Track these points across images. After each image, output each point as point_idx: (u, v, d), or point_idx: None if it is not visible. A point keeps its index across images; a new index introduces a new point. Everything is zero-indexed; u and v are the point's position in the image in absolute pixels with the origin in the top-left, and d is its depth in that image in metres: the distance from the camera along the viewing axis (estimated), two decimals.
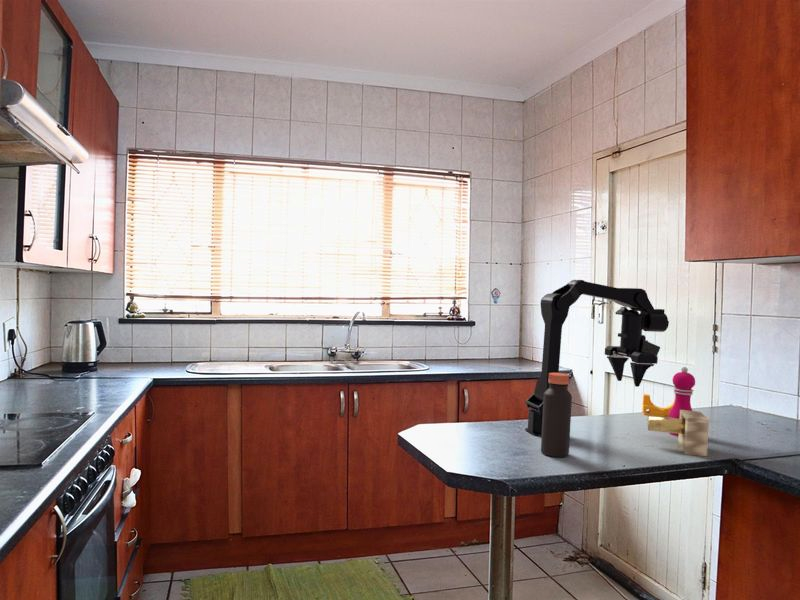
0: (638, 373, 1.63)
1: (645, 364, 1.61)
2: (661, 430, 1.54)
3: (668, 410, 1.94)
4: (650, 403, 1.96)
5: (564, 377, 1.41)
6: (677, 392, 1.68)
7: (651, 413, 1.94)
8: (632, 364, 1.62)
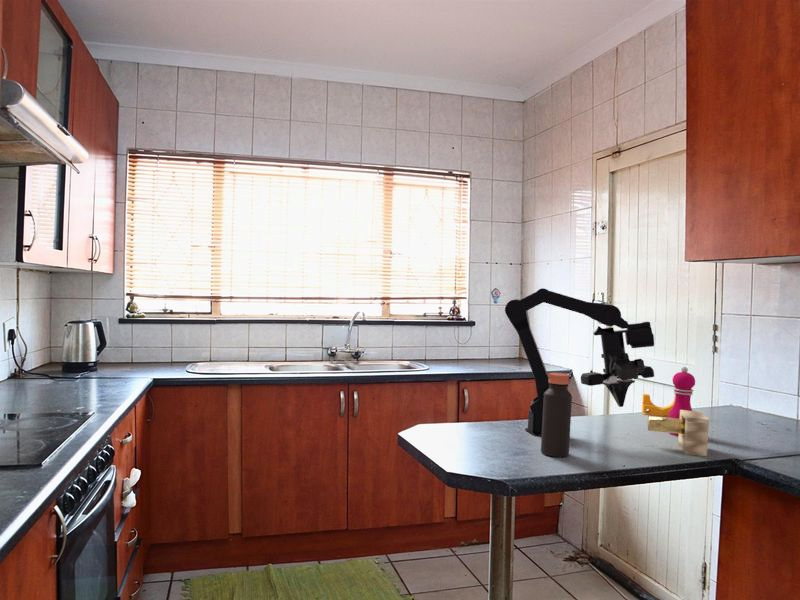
0: (613, 393, 1.58)
1: (605, 383, 1.57)
2: (661, 430, 1.54)
3: (668, 410, 1.94)
4: (650, 403, 1.96)
5: (564, 377, 1.41)
6: (677, 392, 1.68)
7: (651, 413, 1.94)
8: None
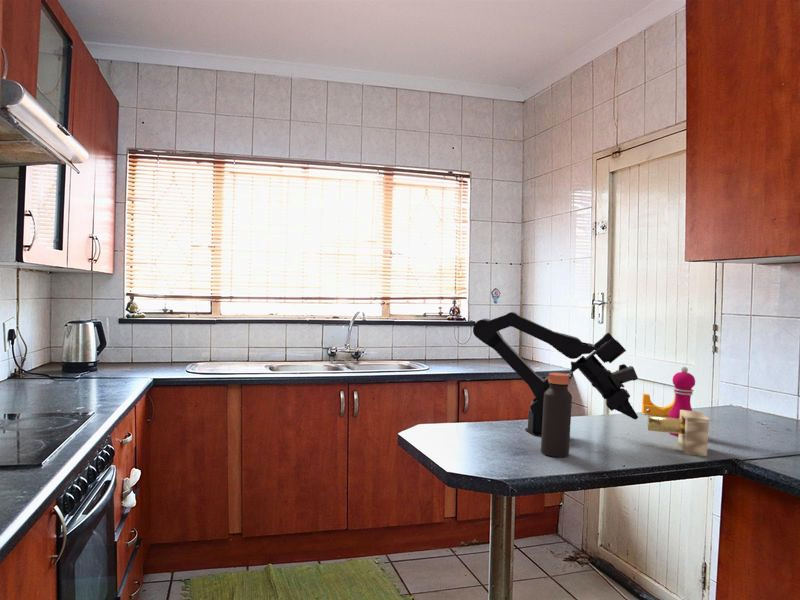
0: (625, 409, 1.56)
1: None
2: (661, 430, 1.54)
3: (668, 409, 1.95)
4: (650, 403, 1.96)
5: (564, 377, 1.41)
6: (677, 392, 1.68)
7: (651, 413, 1.95)
8: None
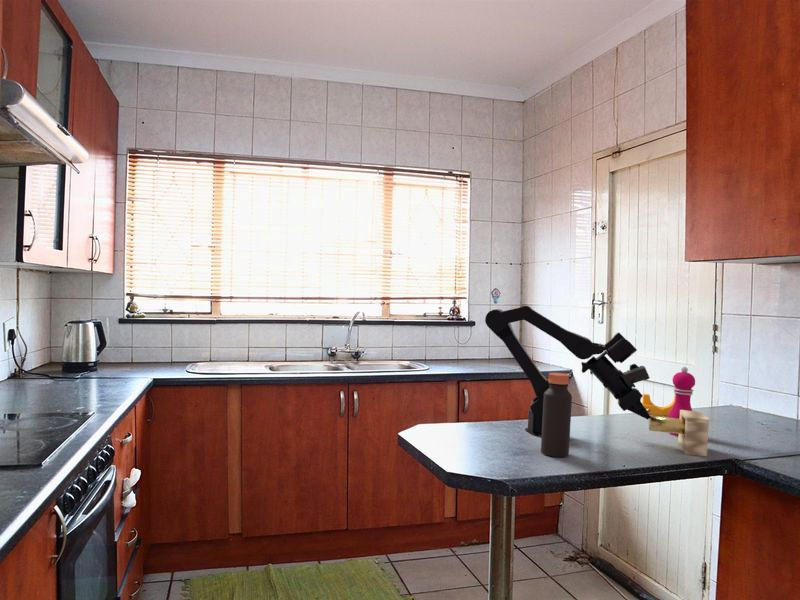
0: (638, 409, 1.55)
1: None
2: (662, 430, 1.53)
3: (668, 409, 1.95)
4: (650, 402, 1.97)
5: (564, 377, 1.41)
6: (677, 392, 1.68)
7: (651, 412, 1.95)
8: None
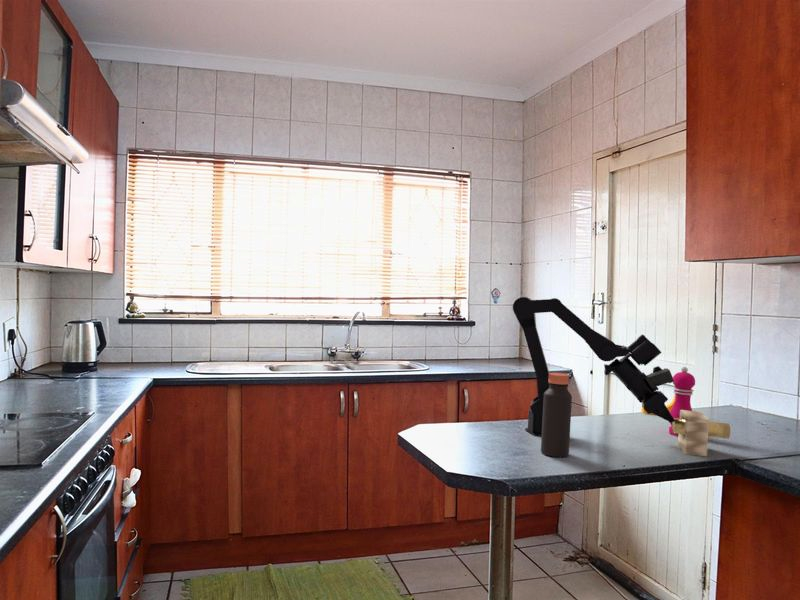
0: (661, 412, 1.54)
1: None
2: None
3: None
4: None
5: (564, 377, 1.41)
6: (677, 392, 1.68)
7: None
8: None
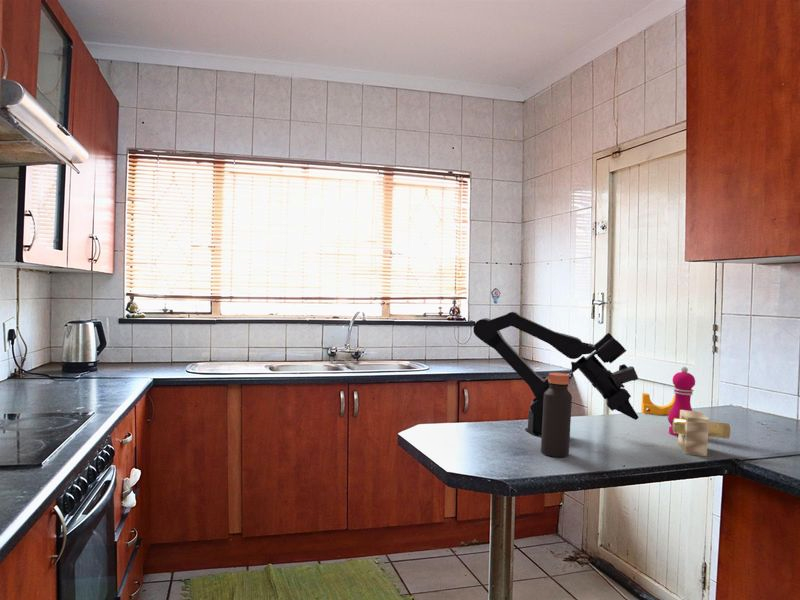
0: (626, 409, 1.56)
1: None
2: None
3: (667, 409, 1.96)
4: (649, 402, 1.98)
5: (564, 377, 1.41)
6: (677, 392, 1.68)
7: (651, 412, 1.96)
8: None
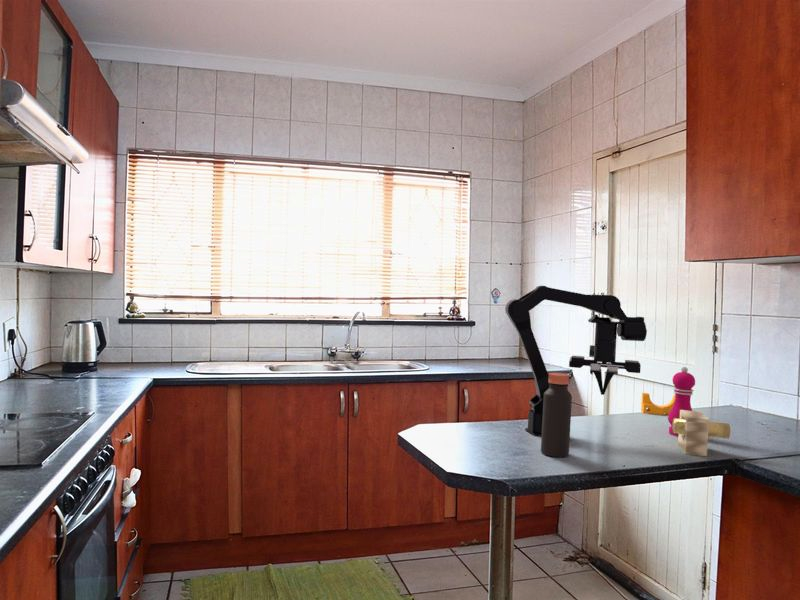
0: None
1: (617, 371, 1.61)
2: None
3: (667, 408, 1.97)
4: (649, 401, 1.98)
5: (564, 377, 1.41)
6: (677, 392, 1.68)
7: (651, 411, 1.96)
8: (610, 373, 1.59)
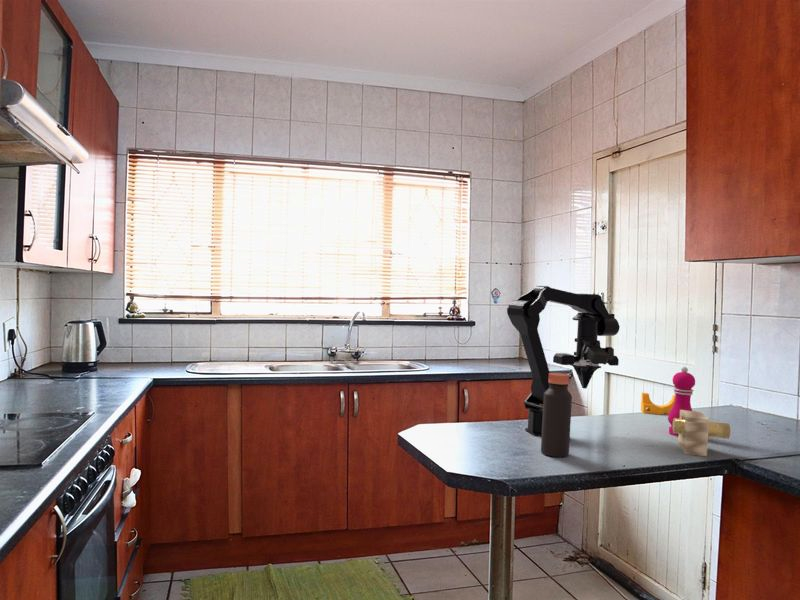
0: (579, 375, 1.71)
1: (574, 365, 1.70)
2: None
3: (667, 408, 1.97)
4: (649, 401, 1.98)
5: (564, 377, 1.41)
6: (677, 392, 1.68)
7: (651, 411, 1.97)
8: None
